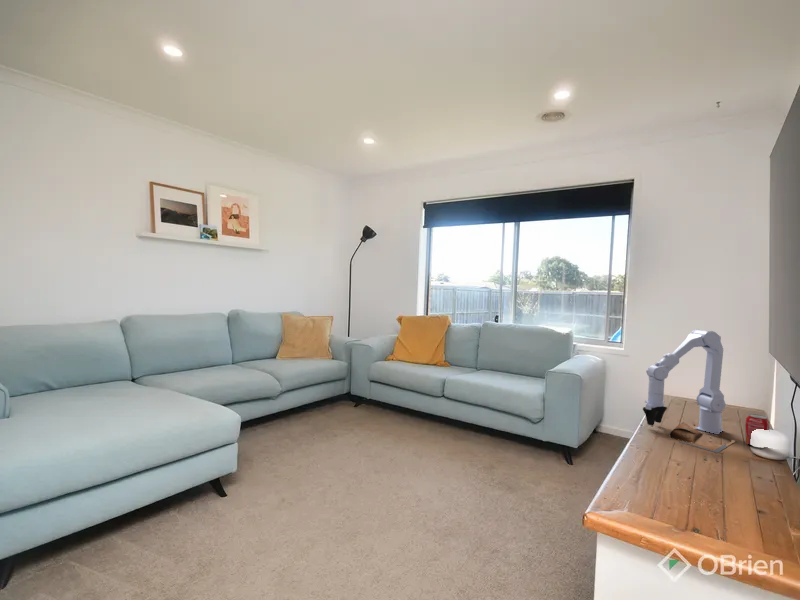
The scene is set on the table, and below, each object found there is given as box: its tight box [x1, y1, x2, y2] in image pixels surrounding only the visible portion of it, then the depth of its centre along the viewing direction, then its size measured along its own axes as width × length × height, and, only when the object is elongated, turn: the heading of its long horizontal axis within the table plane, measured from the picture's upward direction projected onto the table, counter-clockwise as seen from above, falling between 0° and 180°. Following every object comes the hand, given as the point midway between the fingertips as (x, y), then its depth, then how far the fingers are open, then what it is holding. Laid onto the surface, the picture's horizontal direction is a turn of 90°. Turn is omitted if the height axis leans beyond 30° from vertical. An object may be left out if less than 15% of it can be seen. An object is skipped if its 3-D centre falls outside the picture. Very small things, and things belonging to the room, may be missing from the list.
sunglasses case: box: [669, 422, 703, 444], centre depth 168 cm, size 18×7×7 cm
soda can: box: [744, 413, 770, 445], centre depth 159 cm, size 7×7×12 cm
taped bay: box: [679, 431, 729, 454], centre depth 161 cm, size 24×12×1 cm, turn 127°
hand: (654, 423), depth 177 cm, fingers open, 7 cm apart
